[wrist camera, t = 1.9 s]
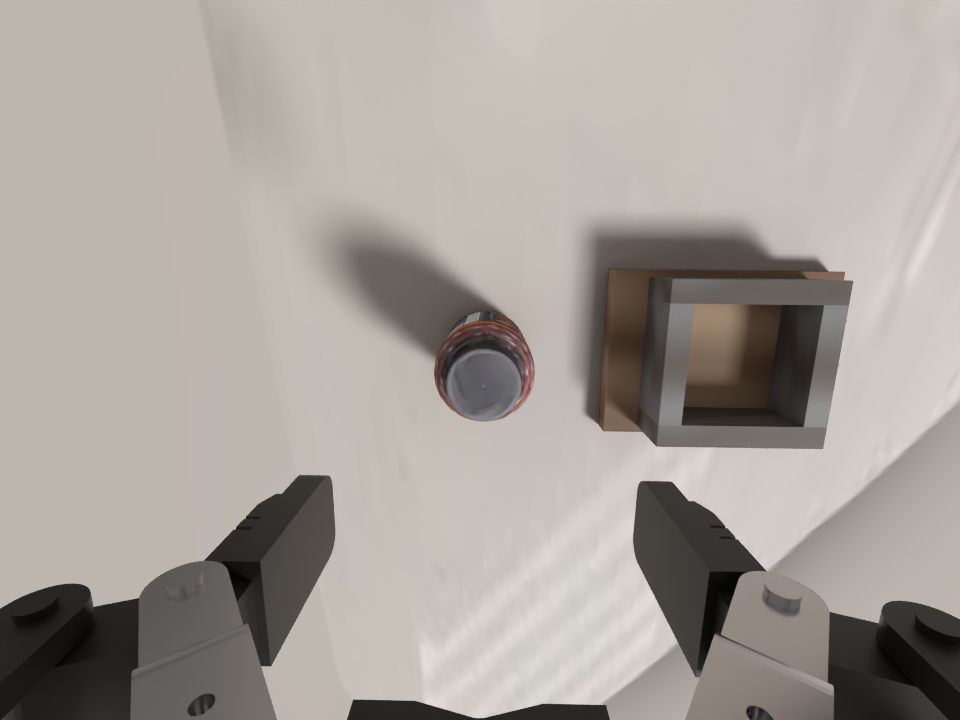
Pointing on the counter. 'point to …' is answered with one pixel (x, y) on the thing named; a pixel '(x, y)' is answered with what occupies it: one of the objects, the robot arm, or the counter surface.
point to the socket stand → (722, 356)
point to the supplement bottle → (484, 367)
